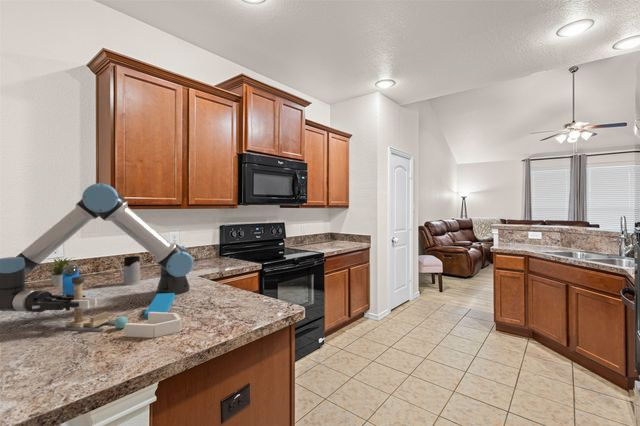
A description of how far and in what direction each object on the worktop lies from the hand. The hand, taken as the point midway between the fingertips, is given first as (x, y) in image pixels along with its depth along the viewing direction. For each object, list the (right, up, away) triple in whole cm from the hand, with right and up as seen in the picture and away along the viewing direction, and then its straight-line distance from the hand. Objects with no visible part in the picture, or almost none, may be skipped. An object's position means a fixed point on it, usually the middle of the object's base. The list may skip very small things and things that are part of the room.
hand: (92, 303), depth 108 cm
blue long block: (+16, -9, +18) cm, 25 cm away
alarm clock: (-39, -9, +39) cm, 56 cm away
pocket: (+26, -8, -3) cm, 27 cm away
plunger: (-2, -8, 0) cm, 9 cm away
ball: (+11, -6, -1) cm, 13 cm away
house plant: (-64, -9, +63) cm, 90 cm away
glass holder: (-29, -8, +66) cm, 73 cm away
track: (-2, -9, 0) cm, 9 cm away
